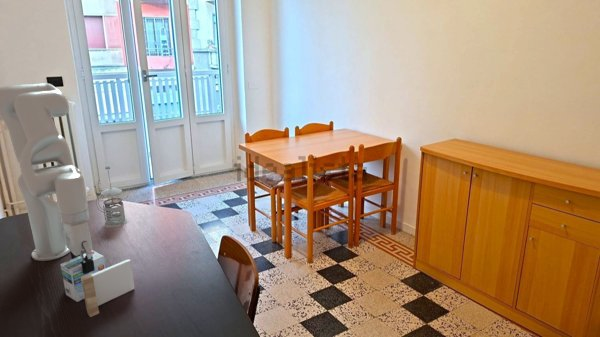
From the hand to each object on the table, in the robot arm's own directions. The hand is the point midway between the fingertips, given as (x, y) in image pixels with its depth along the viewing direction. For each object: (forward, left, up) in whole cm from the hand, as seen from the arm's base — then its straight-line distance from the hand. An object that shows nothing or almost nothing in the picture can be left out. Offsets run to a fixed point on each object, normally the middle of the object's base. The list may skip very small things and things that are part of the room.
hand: (83, 265), depth 128 cm
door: (+10, +3, -8) cm, 14 cm away
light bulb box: (+1, 0, -9) cm, 9 cm away
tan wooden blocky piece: (+5, -3, -9) cm, 10 cm away
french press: (-43, +25, -9) cm, 51 cm away
